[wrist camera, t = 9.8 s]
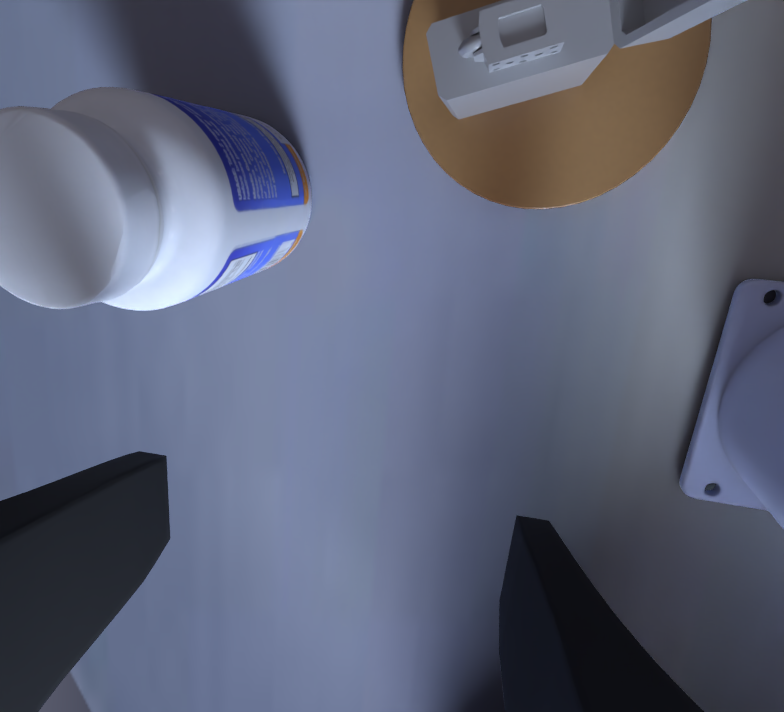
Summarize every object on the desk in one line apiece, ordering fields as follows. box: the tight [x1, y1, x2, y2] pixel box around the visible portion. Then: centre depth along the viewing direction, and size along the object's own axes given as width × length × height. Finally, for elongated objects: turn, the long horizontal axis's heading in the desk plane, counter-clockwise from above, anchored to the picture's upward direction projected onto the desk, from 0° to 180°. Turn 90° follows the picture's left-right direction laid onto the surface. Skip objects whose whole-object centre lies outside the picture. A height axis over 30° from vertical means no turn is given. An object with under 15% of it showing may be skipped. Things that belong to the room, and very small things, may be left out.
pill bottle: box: [0, 87, 312, 311], centre depth 15 cm, size 5×5×10 cm
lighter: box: [426, 0, 747, 119], centre depth 12 cm, size 7×2×8 cm, turn 104°
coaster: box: [403, 0, 712, 209], centre depth 16 cm, size 9×9×1 cm
